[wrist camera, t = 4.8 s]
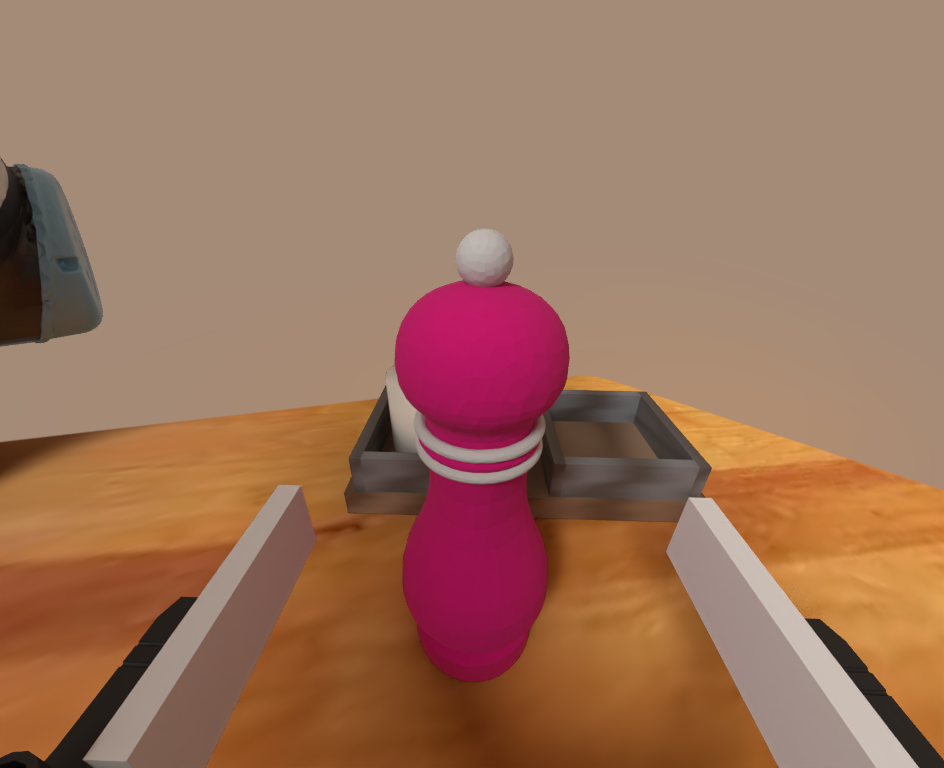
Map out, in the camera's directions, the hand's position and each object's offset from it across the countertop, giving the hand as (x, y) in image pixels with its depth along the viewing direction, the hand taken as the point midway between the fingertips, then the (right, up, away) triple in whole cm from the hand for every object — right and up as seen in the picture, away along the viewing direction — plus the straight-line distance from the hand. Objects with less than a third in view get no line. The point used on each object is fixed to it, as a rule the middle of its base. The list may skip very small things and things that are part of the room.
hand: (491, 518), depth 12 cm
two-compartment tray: (+3, -3, +18) cm, 19 cm away
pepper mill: (-1, -9, +8) cm, 11 cm away
